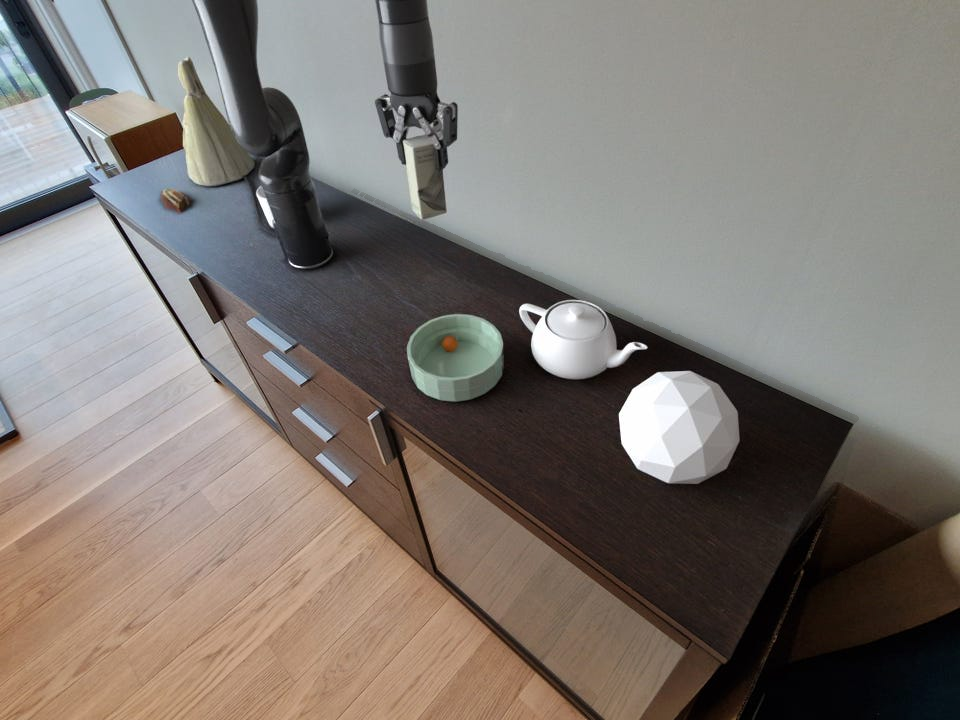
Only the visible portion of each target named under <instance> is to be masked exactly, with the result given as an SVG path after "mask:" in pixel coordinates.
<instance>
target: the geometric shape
mask: <svg viewBox="0 0 960 720" xmlns="http://www.w3.org/2000/svg"><path fill="white" fill-rule="evenodd" d="M618 420H619V430H620V440H621V442H620V443H621V445H622V447H623V449H624V450H625V452H626V453H627V455H628V456H629V458H630V459H631V461H632V463H633V464H634V466H635V468H636V469H637V470H639V471H641V472H643V473H645V474H647V475H650V476H652V477H654V478H656V479H658V480H660V481H662V482H664V483H666V484H677V485H679V484H682V485H683V484H685V485H690V484H691V485H699V484H700V483H702V482H704V481H707V480H708V479H710V478H712V477H714V476H716V475H717V474H720V473H721V472H723V471H725V470H727V468H728V466H729V464H730V463H731V460H732V458H733V457H734V453H735V452H736V450H737V447H738V445H739V443H740V428H739V412H738V410H737V409H736V407H735V406H734V404H733V403H732V401H731V400H730V399H729V397H728V395H726V393H725V392H724V390H723V389H722V388H721V385H719V383H717V382H714V381H712V380H711V379H708V378H707V377H703V376H702V375H701V374H698V373H695V372H693V371H691V370H682V371H680V370H679V371H677V370H676V371H658V372H656V373H654V374H653V375H651V376H649V378H647V379H646V380H644V381H642V382H641V383H640V384H638V385H636V386H635V387H634V388H632V389H631V392H630V393H629V395H628V396H627V399H626V401H625V402H624V404H623V405H622V407H621V410H620V411H619V413H618Z"/></svg>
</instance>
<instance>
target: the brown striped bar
mask: <svg viewBox="0 0 960 720" xmlns="http://www.w3.org/2000/svg"><path fill="white" fill-rule="evenodd" d="M160 198H161V201H162V203H163V204H164V205H165V207H166V208H167V209H169V210H172V211H175V212H178V213H182V212H184V211H185V210H186V209H189V207H190V204H191V199H190V198H189V197H187V196H186V195H184V194H182V193H181V192H180V191H177V190H176V189H169V188H164V189H163V191H162V193H161V195H160Z"/></svg>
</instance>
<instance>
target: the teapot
mask: <svg viewBox="0 0 960 720" xmlns="http://www.w3.org/2000/svg"><path fill="white" fill-rule="evenodd" d="M518 312H519V316H520V319H521V320H522V322H523V324H524V325H525V327H526V328H527V329H528V330H529V331H530V332H531V333H532V335H531V342H530V347H531V353H532V356H533V358H534V360H535V361H536V363H537V364H538V365H539V366H540V367H541V368H542V369H544V370H545V371H546V372H548V373H550V374H551V375H553V376H556V377H558V378H561V379H562V378H563V379H567V380H585V379H589V378H593V377H595V376H598V375H599V374H601V373H602V372H604V371H605V370H607V369H613V368H617V367H620V366H622V365H623V364H625V362H626V361H627V360H628V359H629V358H630V356H631V355H632V354H633V353H634V352H636V351H638V350H639V351H640V350H641V351H642V350H647V349H648V348H649V347H648V346H647V344H644V343H642V342H638V341H632V342H629V343H628V344H626V345H625V346H624V348H623V349H617V347H618V345H617V337H616V332H615V330H614V328H613V325H612V323H611V320H610V319H609V317H608V315H607V313H606V311H604V309H602V308H601V307H600V306H599V305H597V304H594V303H592V302H590V301H586V300H580V299H565V300H562V301H558V302H556V303H555V304H553V305H551V306H550V307H548V308H547V309H546V308H544V307H540V306H538V305H535V304H531V303H522V305H520V307H519V310H518ZM528 312H530V313H533V314H536V315H538V316H540V317H541V318H540V319H539V320H538V322H537V324H535V322H534V321H533V320H532V318H531V317H530V316H529V313H528Z"/></svg>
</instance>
